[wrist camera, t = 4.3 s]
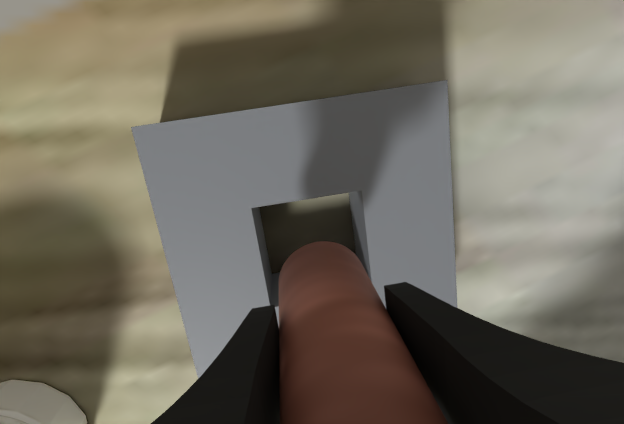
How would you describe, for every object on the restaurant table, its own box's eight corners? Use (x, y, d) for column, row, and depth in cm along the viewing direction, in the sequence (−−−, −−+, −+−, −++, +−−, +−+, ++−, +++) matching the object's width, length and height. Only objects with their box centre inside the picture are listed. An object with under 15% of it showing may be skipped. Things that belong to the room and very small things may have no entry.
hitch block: (415, 85, 18) (447, 80, 15) (430, 310, 21) (459, 348, 18) (159, 123, 17) (131, 127, 14) (215, 348, 21) (202, 395, 17)
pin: (362, 235, 13) (487, 425, 5) (367, 314, 14) (483, 579, 6) (273, 247, 13) (267, 460, 5) (284, 326, 14) (293, 613, 6)
